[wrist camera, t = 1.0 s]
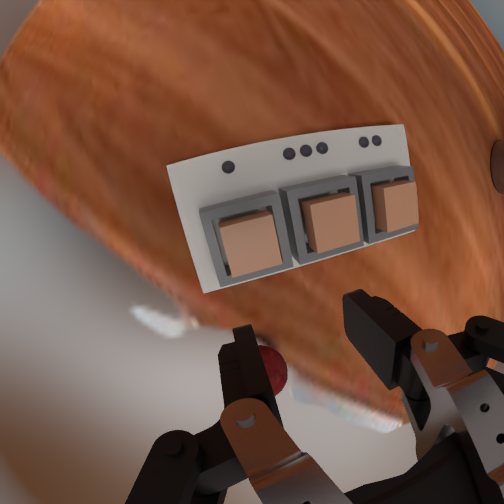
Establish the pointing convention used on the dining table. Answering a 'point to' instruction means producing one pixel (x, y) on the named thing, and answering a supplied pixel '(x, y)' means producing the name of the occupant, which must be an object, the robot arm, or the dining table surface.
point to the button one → (250, 243)
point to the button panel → (285, 192)
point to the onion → (274, 368)
